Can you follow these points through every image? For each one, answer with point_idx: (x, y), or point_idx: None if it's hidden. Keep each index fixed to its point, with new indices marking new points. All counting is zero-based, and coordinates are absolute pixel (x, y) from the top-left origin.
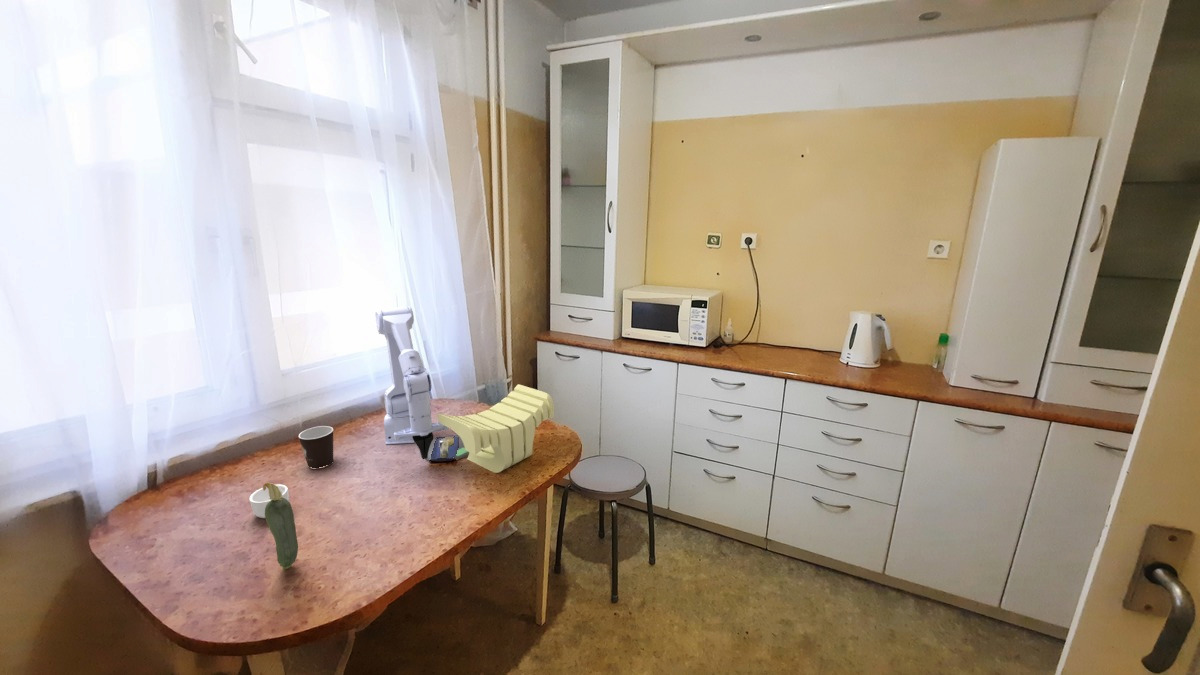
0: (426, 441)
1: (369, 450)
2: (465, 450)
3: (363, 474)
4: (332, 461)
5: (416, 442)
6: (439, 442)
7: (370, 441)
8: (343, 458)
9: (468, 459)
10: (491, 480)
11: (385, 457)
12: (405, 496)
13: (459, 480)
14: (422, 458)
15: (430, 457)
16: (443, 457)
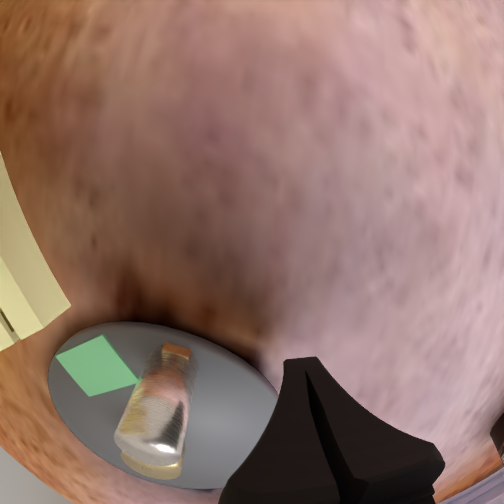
0: (311, 466)
1: None
2: (73, 367)
3: (498, 346)
4: (502, 420)
5: (430, 449)
6: (177, 444)
7: None
8: (476, 435)
9: (63, 296)
10: (16, 49)
11: None
12: (429, 62)
13: (127, 76)
14: (319, 361)
15: (255, 390)
16: (179, 349)
